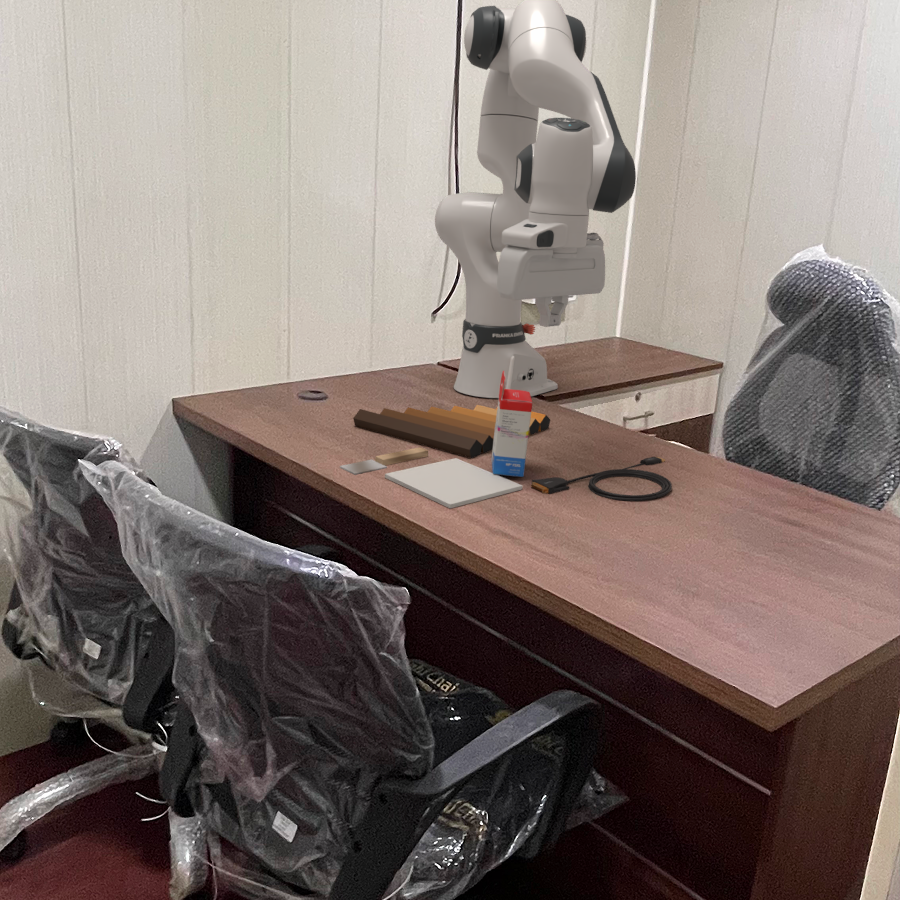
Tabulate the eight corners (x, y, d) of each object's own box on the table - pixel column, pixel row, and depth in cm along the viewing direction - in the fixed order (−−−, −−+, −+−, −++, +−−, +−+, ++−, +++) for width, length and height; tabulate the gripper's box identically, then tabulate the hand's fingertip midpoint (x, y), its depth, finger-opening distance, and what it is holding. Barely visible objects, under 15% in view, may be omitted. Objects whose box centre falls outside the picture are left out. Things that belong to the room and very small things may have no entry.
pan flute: (352, 429, 167) (468, 462, 153) (353, 410, 166) (470, 442, 152) (439, 404, 187) (549, 430, 173) (440, 387, 186) (551, 412, 172)
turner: (416, 452, 156) (416, 445, 155) (432, 459, 153) (432, 452, 152) (339, 468, 146) (339, 461, 146) (354, 476, 143) (354, 468, 143)
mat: (455, 461, 152) (456, 458, 151) (522, 489, 141) (522, 485, 141) (384, 477, 143) (384, 473, 143) (450, 508, 132) (450, 504, 132)
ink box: (524, 478, 144) (536, 382, 141) (491, 474, 144) (503, 379, 140) (520, 462, 153) (532, 372, 149) (490, 459, 153) (501, 369, 149)
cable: (722, 486, 148) (723, 477, 148) (591, 519, 132) (592, 509, 132) (656, 461, 159) (657, 453, 158) (527, 489, 142) (527, 480, 142)
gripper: (588, 230, 151) (580, 317, 155) (493, 232, 138) (487, 327, 142) (619, 234, 146) (610, 324, 151) (524, 236, 133) (517, 334, 138)
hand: (549, 325), depth 146 cm, fingers closed
